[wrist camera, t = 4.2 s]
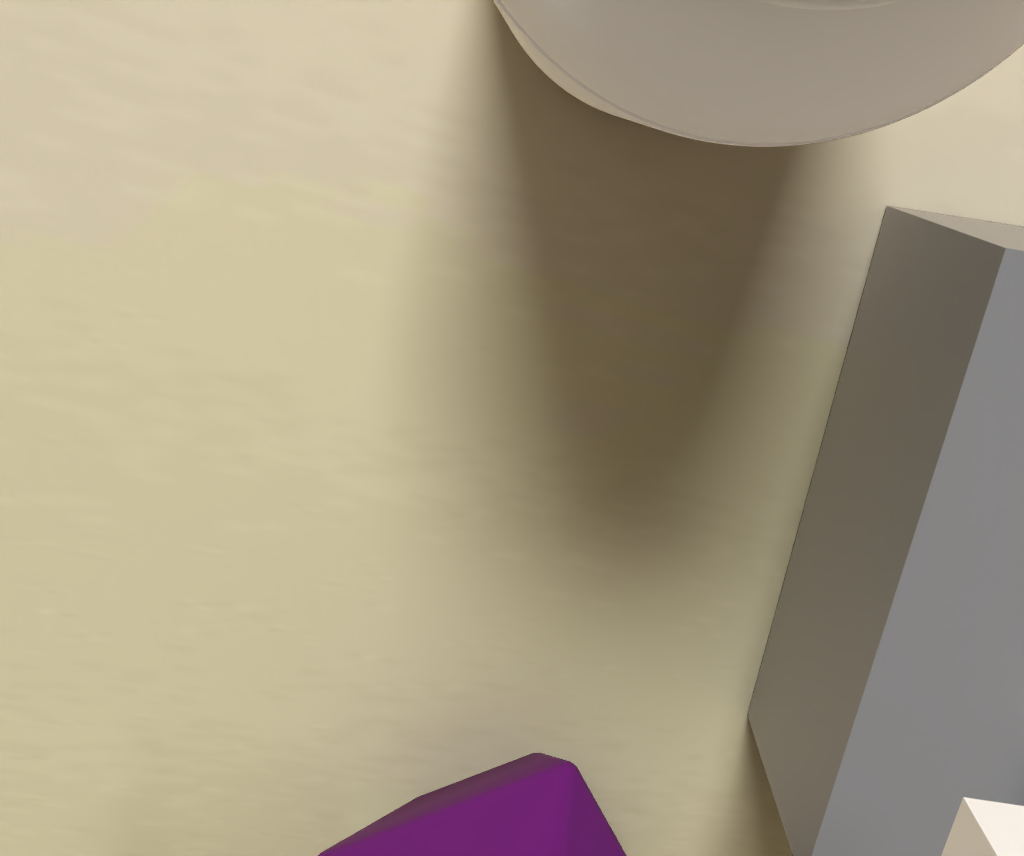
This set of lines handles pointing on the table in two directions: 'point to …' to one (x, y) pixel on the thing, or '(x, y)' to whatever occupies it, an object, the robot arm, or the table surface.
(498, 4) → the pill bottle
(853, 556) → the breaker panel
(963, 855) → the robot arm
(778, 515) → the table surface
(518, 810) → the perfume bottle
